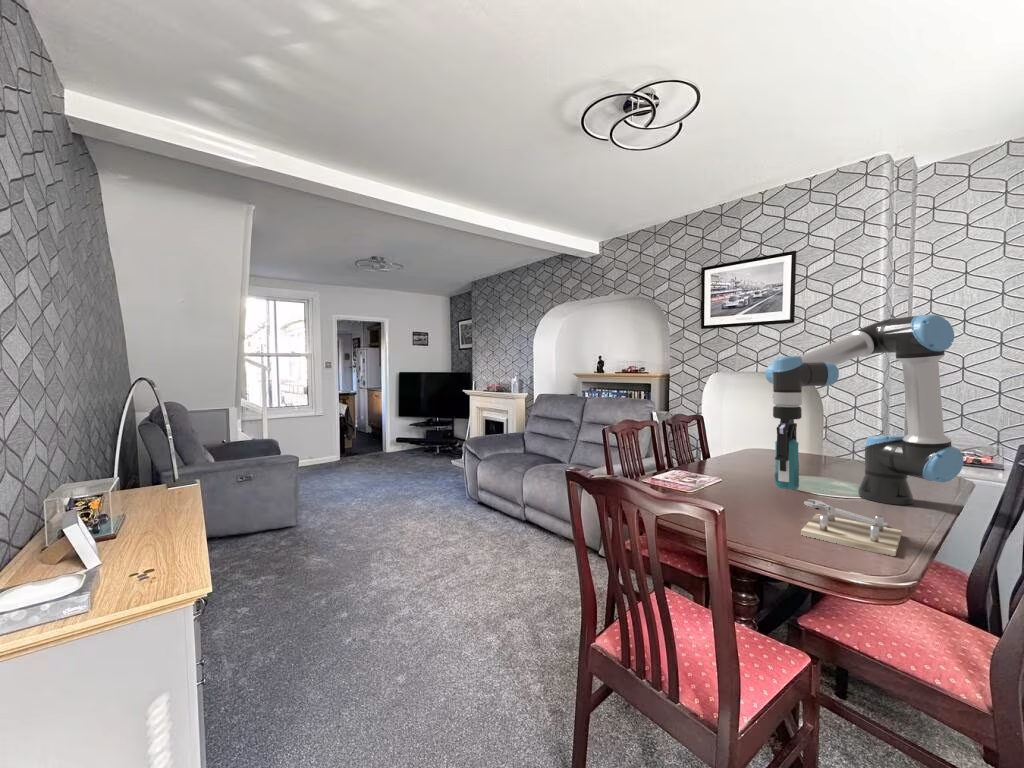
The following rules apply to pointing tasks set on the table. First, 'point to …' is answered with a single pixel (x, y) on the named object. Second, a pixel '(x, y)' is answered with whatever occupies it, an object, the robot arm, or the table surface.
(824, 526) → the steel pegs
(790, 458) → the beverage bottle
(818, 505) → the adjustable wrench
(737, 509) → the table surface
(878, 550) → the birch board
